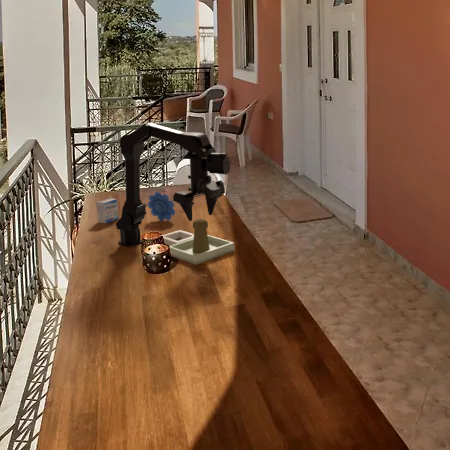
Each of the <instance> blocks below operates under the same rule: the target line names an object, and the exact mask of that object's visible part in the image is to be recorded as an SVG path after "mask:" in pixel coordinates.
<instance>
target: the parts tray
mask: <svg viewBox="0 0 450 450" xmlns="http://www.w3.org/2000/svg"><path fill="white" fill-rule="evenodd" d="M207 236H208V242H209V248H210V250H209V251H206V252H203V253H200V254H198V253H194V252H193V251H192V250H193V240H194V238H193V239H190V240H187V241H184V242H181V243H177V244H174V245H171V246H169V247H170V252H171V256H170V257H173V258H175V259H177V260H180V261H184V262H187V263H188V264H189V263H190V264H193V265H195V266H196V265H200V264H202V263H205V262H208V261H211V260H213V259H216V258H219V257H222V256H223V255H228V254H230V253H233V252H235V242H232V241H230V240H226V239H223V238H219V237H217V236H213V235H210V234H207ZM232 251H233V252H232Z"/></svg>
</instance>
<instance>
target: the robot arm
mask: <svg viewBox="0 0 450 450" xmlns="http://www.w3.org/2000/svg"><path fill="white" fill-rule="evenodd" d="M150 138H155V139H158V140H162V141H165V142H169V143H173V144H175V145H178V146H180V147H182V149H183V150H186V151H187V153H186V154H185V155H184V156H183V159H184V160H185V159H186V160H189V168H190V169H189V171H190V173H189V175H187V178H188V179H190V187H187V188H188V189H187V190H188V191H185V190H181V191H177V192H174V194H173V196H172V197H173V200H172V201H173V202H176V204H179V206H180V207H181V208H182V210H183V212H184V214H185V215H186V218H187V220H188V222H193V206H194V204H195V201H194V199H195V198H196V197H200V196H205V202H206V208H207V212H208V215H209V216H212V215H213V212H214V209H215V207H216V204H217V202H218V199H220V198H221V197H222V196H223V195H224V194H226V188H225V183H224V182H225V181H223V180H222V179H220V180H217V181H212V176H211V175H210V174H214V175H215V174H216V175H229V173H230V170H231V167H232V166H231V161H230V158H229V156H228V153H227V152H222V153H221V152H220V153H219V152H217V151H216V150H215V148H214V147H213V145H212V144H211V143H210V140H209V137H208V135H207V134H205V133H204V132H195V131H193V132H192V131H191V132H190V131H189V132H186V131H181V130H177V129H174V128H170V127H167V126H163V125H160V124H156V123H154V122H146V123H144V124H142V125H141V126H140V127H139V128H137V129H135V130H133V132H130V133H128V134H125V135H122V137H121V138H120V139H119V147H120V153H121V154H122V156H123V158H124V161H125V162H124V164H125V165H124V166H125V201H124V203H123V206H122V209H121V210H122V211H121V216H120V217H119V219H117V222H115V226H116V229H117V230H119V236H120V237H119V238H120V240H118V241H117V242H118V244H121V245H123V246H126V247H132V246H135V245H139V244H142V243H141V241H142V240H141V229H140V225H141V224H142V221H143V220H144V219H145V218H146V215H147V212H146V211H147V210H146V209H147V204H146V203H143V202H142V200H141V191H140V190H141V183H140V182H141V181H140V179H141V178H140V171H141V170H140V167H141V166H140V163H141V162H140V158H141V157H142V155H143V152H144V148H145V147H144V146H145V143H146V142H147V141H148V140H150ZM208 173H209V174H208Z"/></svg>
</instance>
